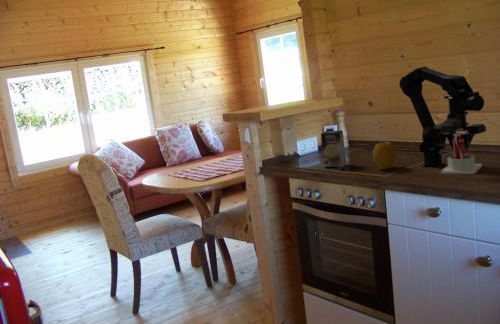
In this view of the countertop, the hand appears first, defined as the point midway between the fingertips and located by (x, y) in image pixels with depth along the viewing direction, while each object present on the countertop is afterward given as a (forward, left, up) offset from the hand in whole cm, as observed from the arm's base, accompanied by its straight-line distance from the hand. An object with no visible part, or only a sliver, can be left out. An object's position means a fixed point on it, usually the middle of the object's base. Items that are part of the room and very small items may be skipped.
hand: (460, 150), depth 198 cm
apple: (-31, +2, -8) cm, 32 cm away
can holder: (0, 0, -7) cm, 7 cm away
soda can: (0, 0, -6) cm, 6 cm away
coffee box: (-57, +7, -8) cm, 58 cm away
